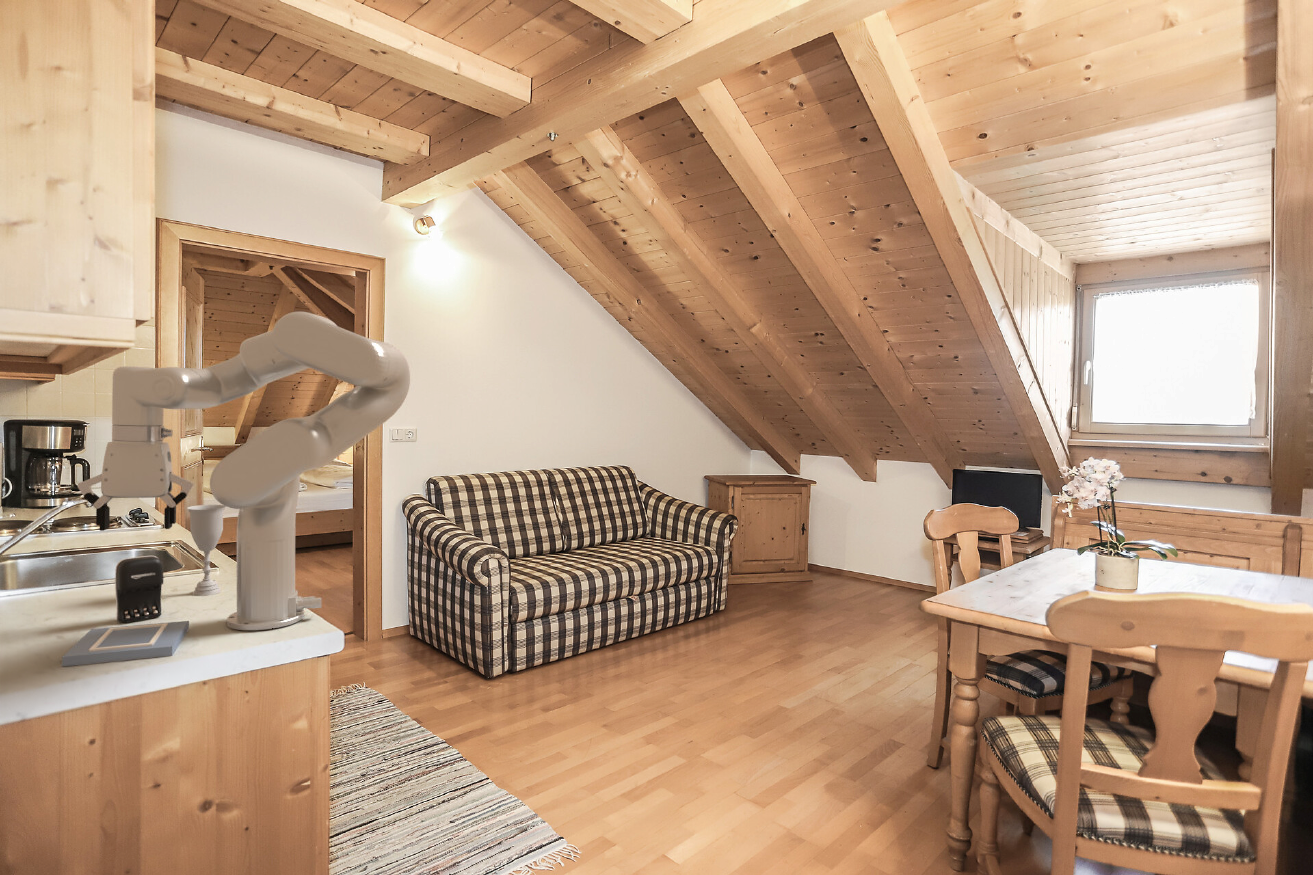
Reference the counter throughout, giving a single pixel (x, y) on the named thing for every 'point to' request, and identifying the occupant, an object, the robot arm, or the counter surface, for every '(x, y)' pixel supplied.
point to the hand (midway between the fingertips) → (136, 528)
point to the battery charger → (138, 588)
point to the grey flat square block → (126, 643)
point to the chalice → (206, 540)
